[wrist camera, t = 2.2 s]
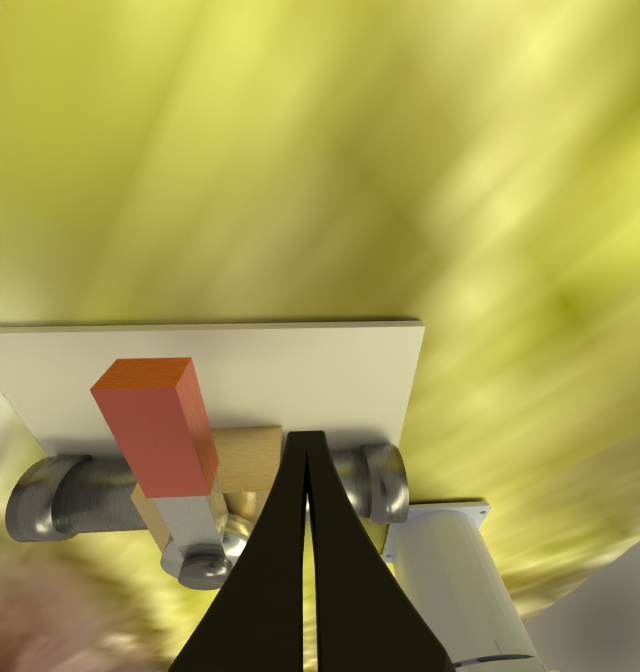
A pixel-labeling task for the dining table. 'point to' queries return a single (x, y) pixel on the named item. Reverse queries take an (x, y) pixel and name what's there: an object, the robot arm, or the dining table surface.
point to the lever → (174, 463)
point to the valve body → (234, 476)
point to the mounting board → (220, 377)
